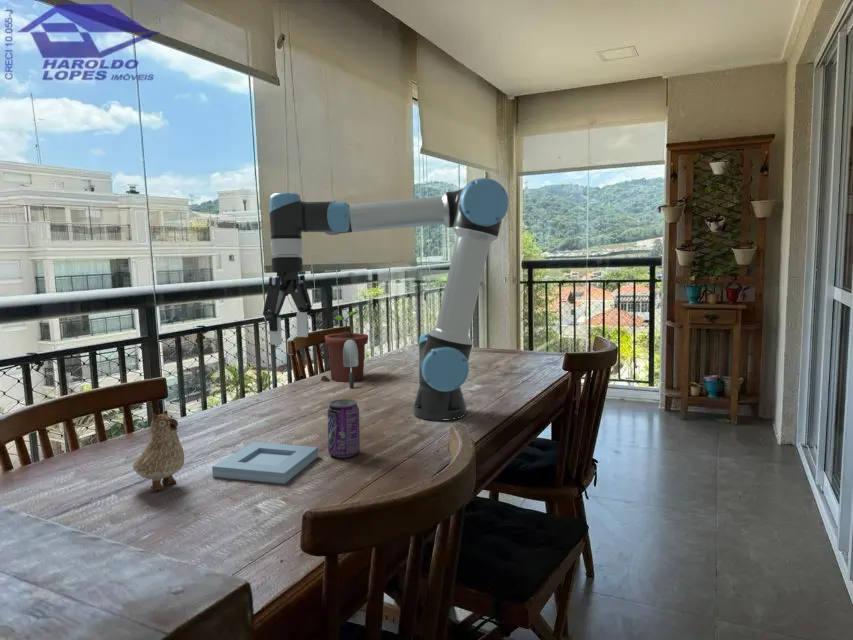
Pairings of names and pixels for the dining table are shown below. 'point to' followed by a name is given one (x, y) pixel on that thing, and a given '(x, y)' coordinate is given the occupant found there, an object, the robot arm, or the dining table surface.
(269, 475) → the baseplate
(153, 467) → the figurine
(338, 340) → the potted plant
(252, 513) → the dining table surface
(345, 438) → the beverage can
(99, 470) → the dining table surface
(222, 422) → the dining table surface
